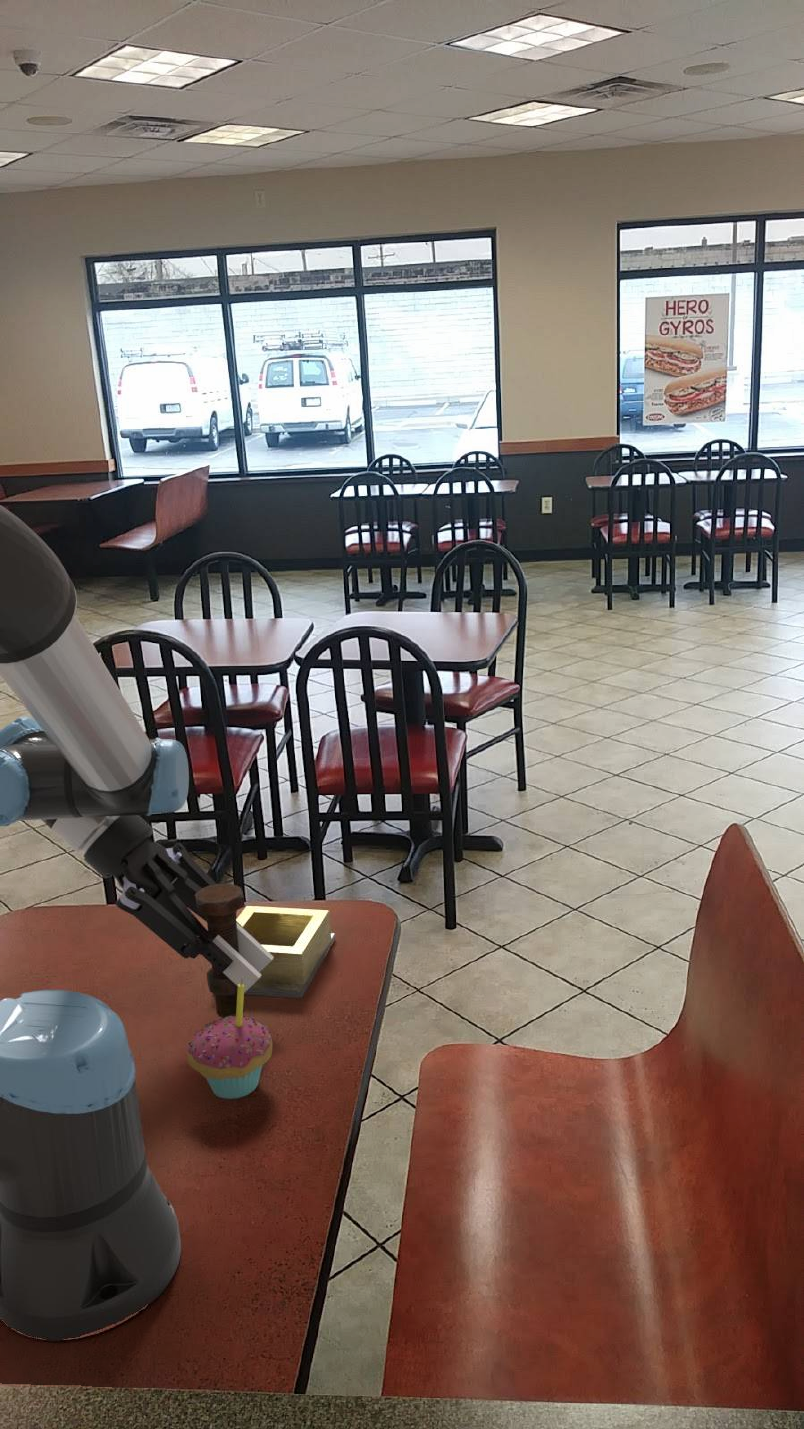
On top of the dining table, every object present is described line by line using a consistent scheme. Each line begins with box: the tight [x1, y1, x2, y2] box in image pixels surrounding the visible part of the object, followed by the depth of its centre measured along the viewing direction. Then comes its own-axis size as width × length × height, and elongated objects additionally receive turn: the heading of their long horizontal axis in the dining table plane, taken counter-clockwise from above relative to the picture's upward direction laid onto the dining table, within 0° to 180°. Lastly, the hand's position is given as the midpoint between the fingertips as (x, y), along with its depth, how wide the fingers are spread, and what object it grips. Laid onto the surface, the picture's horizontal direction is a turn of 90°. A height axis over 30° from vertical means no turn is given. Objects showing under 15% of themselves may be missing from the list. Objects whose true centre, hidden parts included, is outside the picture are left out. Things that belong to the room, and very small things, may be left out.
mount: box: [236, 905, 336, 1000], centre depth 136 cm, size 14×11×5 cm
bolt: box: [195, 882, 246, 1018], centre depth 123 cm, size 6×5×15 cm
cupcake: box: [187, 977, 273, 1100], centre depth 112 cm, size 9×8×12 cm
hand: (259, 974), depth 123 cm, fingers closed on bolt, 3 cm apart
